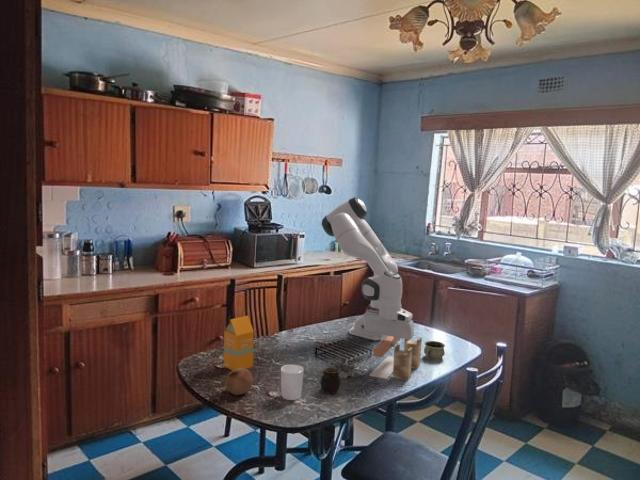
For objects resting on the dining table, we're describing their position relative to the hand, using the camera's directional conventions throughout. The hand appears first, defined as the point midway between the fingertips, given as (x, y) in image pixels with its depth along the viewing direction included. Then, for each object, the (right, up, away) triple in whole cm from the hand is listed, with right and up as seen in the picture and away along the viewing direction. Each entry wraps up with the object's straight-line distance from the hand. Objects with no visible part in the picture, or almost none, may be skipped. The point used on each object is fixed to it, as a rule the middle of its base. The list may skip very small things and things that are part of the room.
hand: (387, 345), depth 207 cm
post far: (+10, -9, +4) cm, 14 cm away
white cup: (-37, -12, -28) cm, 48 cm away
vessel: (+22, -9, +14) cm, 27 cm away
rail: (0, -1, 0) cm, 1 cm away
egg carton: (-19, -10, -6) cm, 22 cm away
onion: (-56, -11, -28) cm, 63 cm away
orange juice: (-60, -8, -4) cm, 60 cm away
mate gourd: (-24, -12, -23) cm, 35 cm away
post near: (+4, -11, -8) cm, 14 cm away
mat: (0, -9, +1) cm, 9 cm away
